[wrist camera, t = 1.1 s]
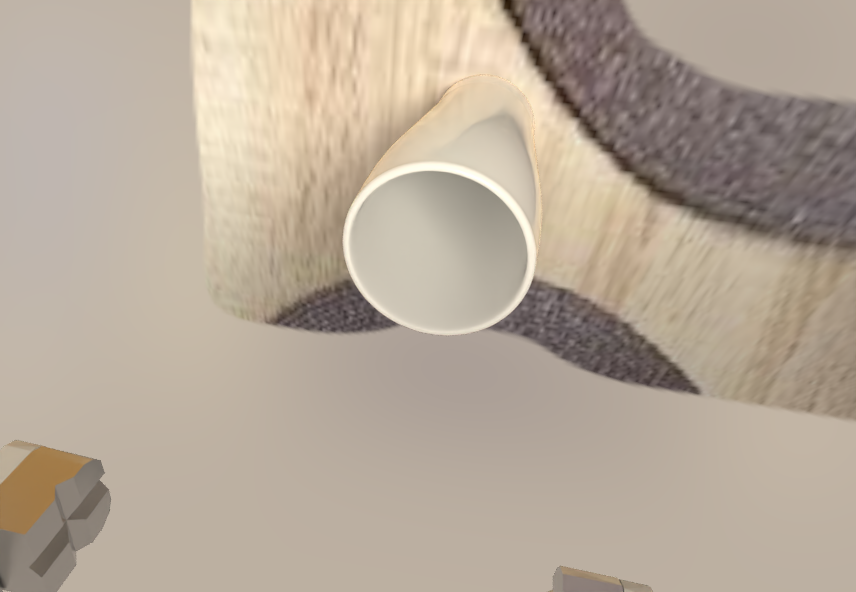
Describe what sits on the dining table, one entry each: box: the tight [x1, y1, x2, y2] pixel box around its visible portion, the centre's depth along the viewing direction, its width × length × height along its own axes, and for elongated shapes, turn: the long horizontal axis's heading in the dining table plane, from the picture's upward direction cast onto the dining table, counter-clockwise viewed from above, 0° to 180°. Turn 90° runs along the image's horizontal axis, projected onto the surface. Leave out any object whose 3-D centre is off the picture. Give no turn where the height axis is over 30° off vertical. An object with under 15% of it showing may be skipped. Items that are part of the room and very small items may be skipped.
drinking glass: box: [343, 75, 542, 336], centre depth 27 cm, size 7×7×15 cm
